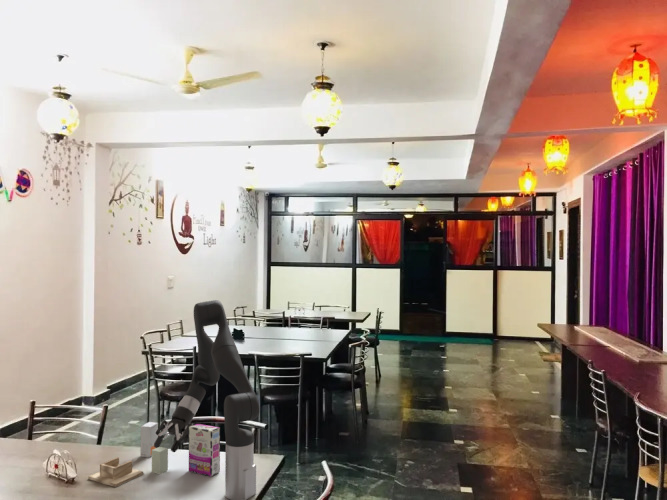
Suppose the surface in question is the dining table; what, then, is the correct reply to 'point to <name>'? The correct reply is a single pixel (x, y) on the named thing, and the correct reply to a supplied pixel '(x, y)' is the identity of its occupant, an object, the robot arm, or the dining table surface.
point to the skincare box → (148, 438)
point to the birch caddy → (115, 473)
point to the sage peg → (159, 460)
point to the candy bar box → (204, 449)
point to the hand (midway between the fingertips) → (164, 449)
